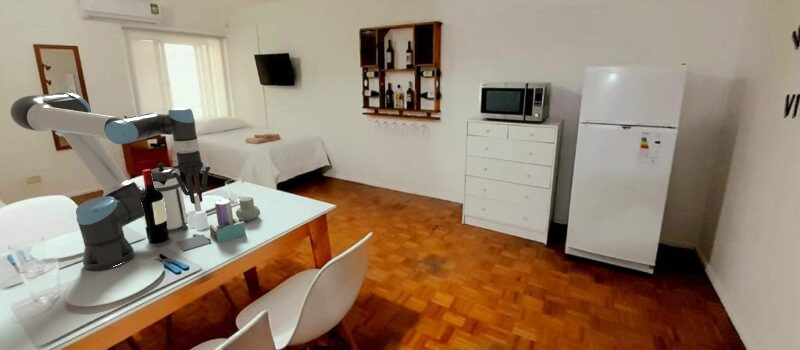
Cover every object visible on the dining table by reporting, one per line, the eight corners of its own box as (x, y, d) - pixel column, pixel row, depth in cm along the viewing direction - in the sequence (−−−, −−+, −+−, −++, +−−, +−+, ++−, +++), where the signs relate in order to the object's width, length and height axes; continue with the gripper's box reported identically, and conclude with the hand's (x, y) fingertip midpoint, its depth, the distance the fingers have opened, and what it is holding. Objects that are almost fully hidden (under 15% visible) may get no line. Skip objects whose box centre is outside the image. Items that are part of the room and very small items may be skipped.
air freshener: (234, 218, 175) (232, 198, 172) (251, 213, 181) (249, 193, 178) (245, 224, 168) (243, 204, 165) (262, 219, 174) (260, 199, 171)
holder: (217, 240, 153) (216, 232, 152) (210, 233, 160) (209, 225, 158) (243, 233, 160) (242, 224, 159) (235, 226, 166) (234, 218, 165)
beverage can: (223, 238, 155) (218, 205, 151) (217, 234, 159) (212, 201, 155) (237, 233, 159) (232, 201, 155) (231, 229, 163) (226, 197, 159)
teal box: (219, 243, 151) (216, 227, 149) (217, 241, 152) (215, 226, 150) (246, 235, 158) (244, 219, 156) (244, 233, 159) (242, 218, 157)
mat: (183, 251, 145) (183, 250, 145) (177, 242, 152) (176, 241, 152) (210, 243, 151) (210, 242, 151) (203, 235, 158) (203, 234, 158)
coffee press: (201, 222, 171) (190, 159, 162) (171, 237, 156) (157, 169, 147) (172, 217, 176) (160, 156, 167) (140, 232, 161) (125, 165, 152)
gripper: (169, 155, 129) (181, 217, 136) (209, 149, 137) (219, 208, 144) (165, 151, 134) (176, 212, 141) (203, 146, 142) (213, 203, 150)
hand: (198, 210), depth 143 cm, fingers closed
